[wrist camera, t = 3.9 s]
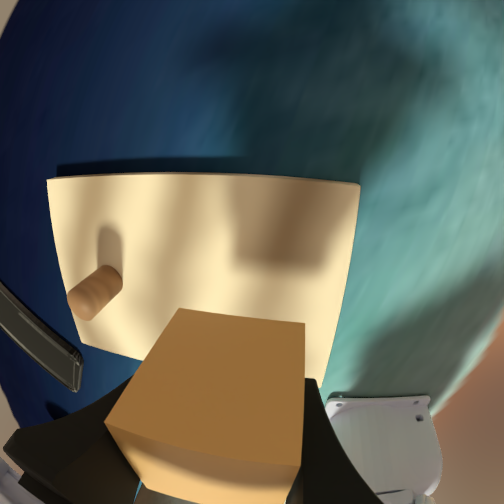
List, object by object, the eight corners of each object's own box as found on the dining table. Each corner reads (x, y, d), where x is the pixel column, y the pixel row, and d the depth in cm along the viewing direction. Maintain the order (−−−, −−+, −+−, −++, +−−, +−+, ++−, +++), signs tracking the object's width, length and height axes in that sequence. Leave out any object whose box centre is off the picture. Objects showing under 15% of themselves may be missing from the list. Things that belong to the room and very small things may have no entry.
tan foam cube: (305, 323, 11) (300, 465, 5) (290, 404, 13) (277, 515, 7) (179, 307, 11) (104, 422, 6) (189, 389, 13) (147, 488, 8)
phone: (76, 395, 26) (-6, 321, 25) (81, 388, 27) (-1, 317, 26) (80, 360, 23) (-11, 277, 22) (86, 354, 24) (-5, 273, 23)
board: (356, 183, 15) (378, 200, 10) (320, 378, 20) (321, 425, 16) (56, 177, 17) (11, 191, 13) (87, 336, 22) (60, 366, 18)
